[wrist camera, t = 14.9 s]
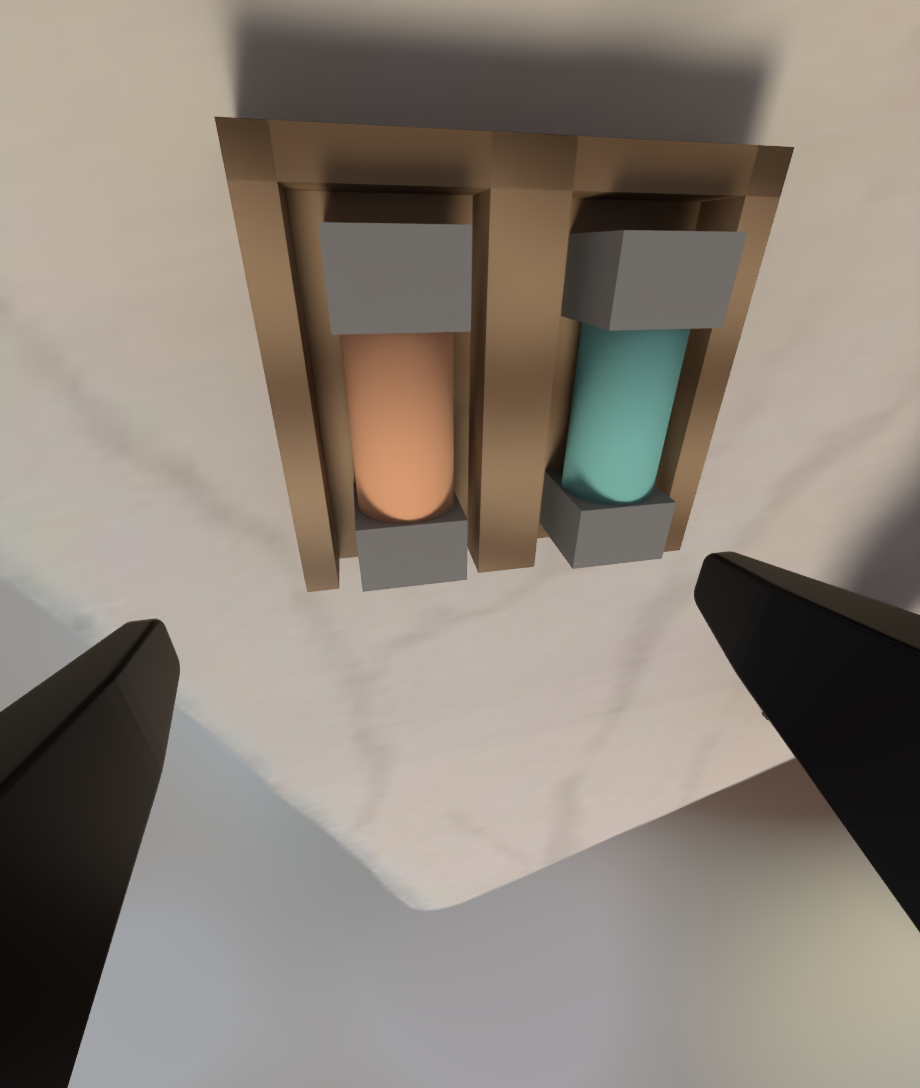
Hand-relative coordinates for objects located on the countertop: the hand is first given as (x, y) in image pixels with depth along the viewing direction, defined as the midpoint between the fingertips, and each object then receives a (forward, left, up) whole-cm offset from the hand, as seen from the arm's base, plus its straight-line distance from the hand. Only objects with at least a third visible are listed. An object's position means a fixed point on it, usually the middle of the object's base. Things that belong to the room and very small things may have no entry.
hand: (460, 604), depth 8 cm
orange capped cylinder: (0, 0, -12) cm, 12 cm away
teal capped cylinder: (0, -8, -12) cm, 14 cm away
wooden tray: (+1, -4, -12) cm, 13 cm away
